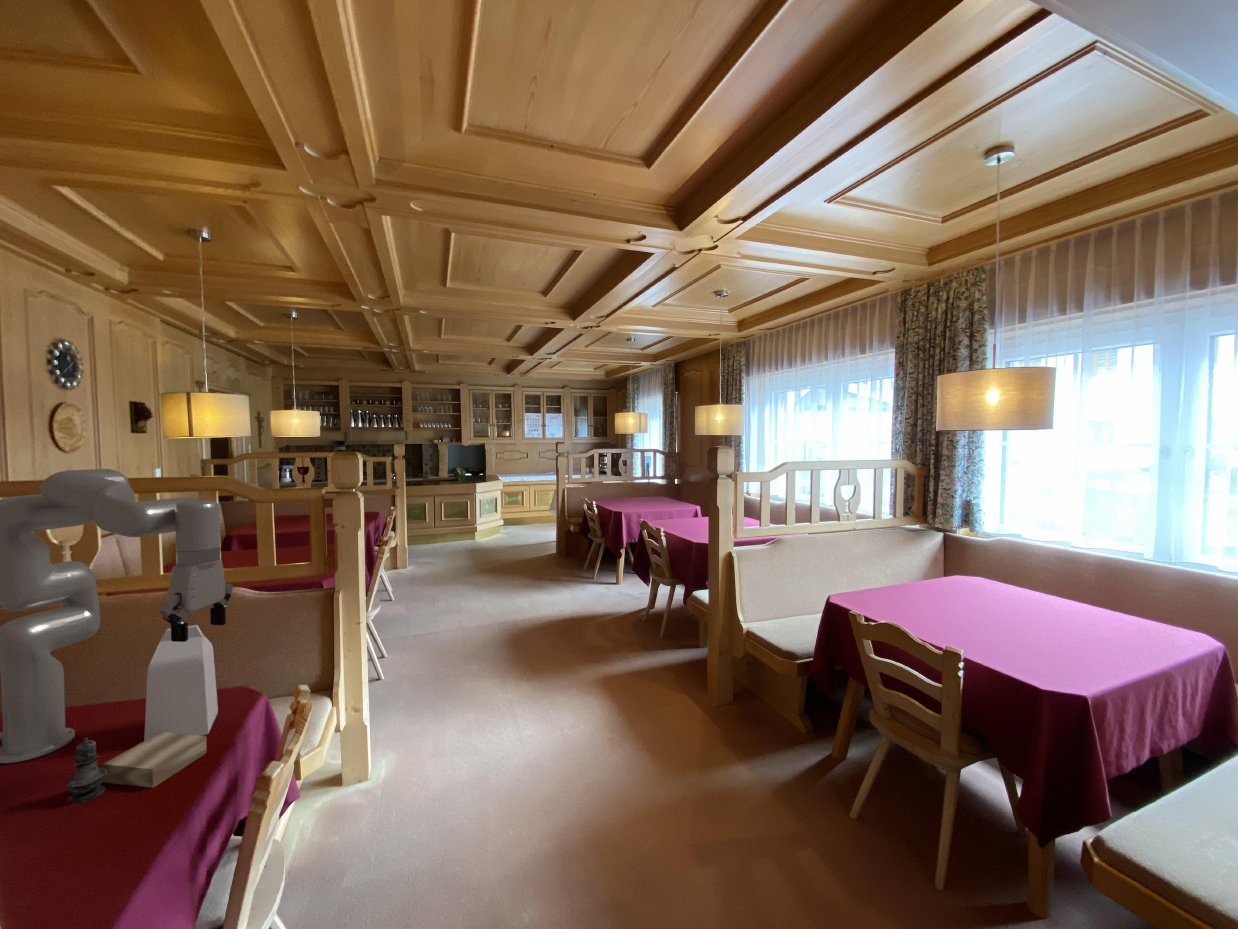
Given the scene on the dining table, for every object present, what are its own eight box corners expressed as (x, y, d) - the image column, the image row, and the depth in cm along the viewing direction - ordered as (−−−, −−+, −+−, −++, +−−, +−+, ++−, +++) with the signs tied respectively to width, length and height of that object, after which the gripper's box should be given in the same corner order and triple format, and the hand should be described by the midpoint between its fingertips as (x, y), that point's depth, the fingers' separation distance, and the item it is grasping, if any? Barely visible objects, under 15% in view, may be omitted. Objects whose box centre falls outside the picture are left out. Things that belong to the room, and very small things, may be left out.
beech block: (103, 782, 106) (103, 764, 106) (161, 748, 118) (161, 731, 118) (153, 787, 105) (152, 769, 105) (206, 753, 117) (206, 736, 117)
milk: (143, 747, 118) (142, 639, 117) (159, 723, 128) (157, 624, 127) (208, 733, 124) (206, 631, 123) (218, 711, 134) (216, 617, 133)
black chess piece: (59, 808, 99) (58, 749, 98) (74, 789, 104) (73, 733, 103) (99, 798, 101) (98, 741, 101) (112, 781, 107) (111, 726, 106)
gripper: (215, 548, 119) (216, 618, 119) (143, 565, 101) (145, 647, 102) (245, 548, 118) (246, 619, 119) (178, 566, 101) (180, 649, 102)
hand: (199, 632), depth 111 cm, fingers open, 9 cm apart
